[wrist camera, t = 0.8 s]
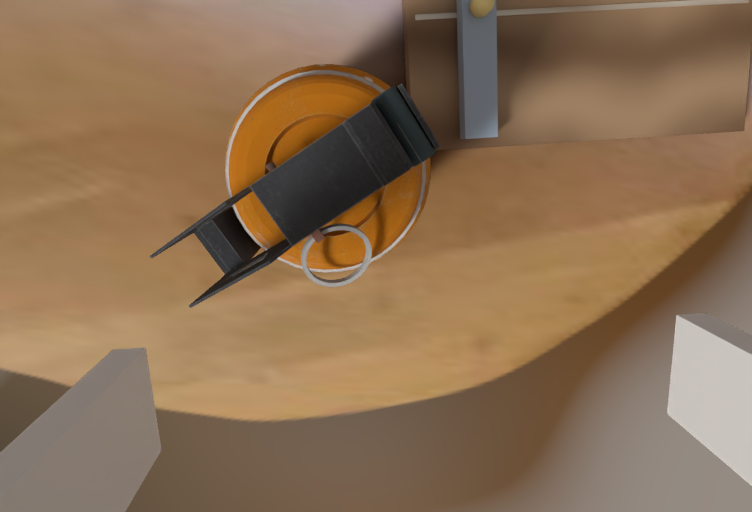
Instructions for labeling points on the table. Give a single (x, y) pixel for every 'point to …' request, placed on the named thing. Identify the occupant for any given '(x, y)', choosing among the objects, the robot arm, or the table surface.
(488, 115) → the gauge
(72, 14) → the table surface
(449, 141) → the board
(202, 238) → the canister
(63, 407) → the robot arm
